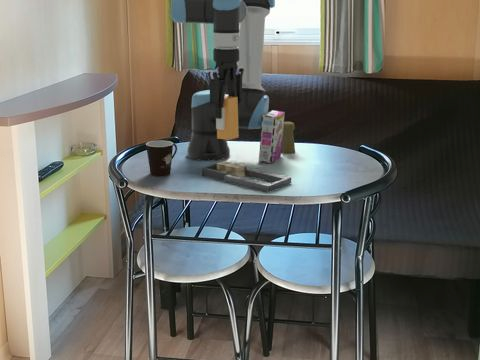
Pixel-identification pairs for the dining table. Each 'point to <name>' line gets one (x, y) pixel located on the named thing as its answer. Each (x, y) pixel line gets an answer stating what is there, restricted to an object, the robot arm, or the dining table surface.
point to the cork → (288, 138)
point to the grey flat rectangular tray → (258, 185)
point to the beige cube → (223, 166)
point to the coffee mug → (160, 157)
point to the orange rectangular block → (230, 119)
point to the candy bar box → (271, 136)
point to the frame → (214, 172)
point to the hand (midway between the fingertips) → (226, 127)
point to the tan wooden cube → (236, 169)
